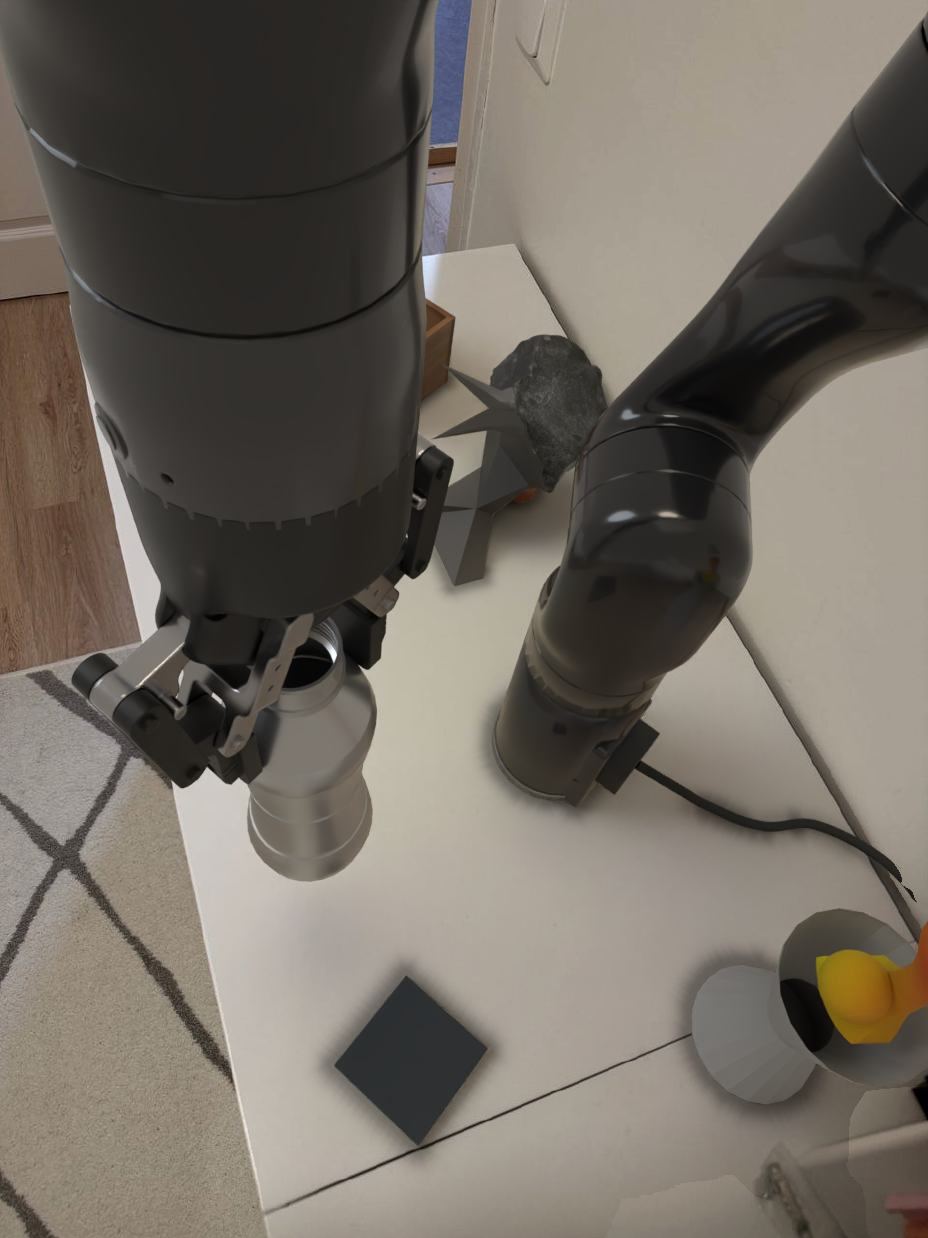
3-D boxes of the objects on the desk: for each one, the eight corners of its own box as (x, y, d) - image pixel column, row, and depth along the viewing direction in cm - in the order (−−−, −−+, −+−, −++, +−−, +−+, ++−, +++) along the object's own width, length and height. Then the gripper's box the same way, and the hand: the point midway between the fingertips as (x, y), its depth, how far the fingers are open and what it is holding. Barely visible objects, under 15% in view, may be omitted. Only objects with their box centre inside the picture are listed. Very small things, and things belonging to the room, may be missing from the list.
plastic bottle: (380, 781, 50) (395, 581, 34) (360, 902, 47) (366, 744, 30) (267, 765, 50) (225, 556, 33) (238, 885, 47) (175, 717, 30)
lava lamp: (800, 961, 64) (1193, 774, 34) (832, 1105, 59) (1321, 1031, 29) (678, 963, 63) (975, 771, 33) (701, 1109, 58) (1070, 1037, 28)
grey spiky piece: (608, 544, 82) (668, 401, 67) (453, 585, 78) (481, 441, 62) (544, 434, 88) (586, 280, 73) (399, 465, 84) (411, 309, 69)
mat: (486, 1049, 58) (488, 1048, 58) (417, 1146, 55) (418, 1146, 54) (405, 976, 60) (406, 975, 60) (334, 1066, 57) (334, 1065, 56)
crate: (447, 380, 91) (455, 316, 84) (385, 429, 86) (388, 365, 80) (370, 329, 94) (372, 263, 87) (305, 374, 89) (302, 308, 82)
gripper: (128, 680, 17) (229, 907, 31) (562, 327, 24) (483, 645, 38) (-109, 470, 19) (88, 773, 33) (353, 200, 26) (353, 547, 40)
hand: (299, 704), depth 35 cm, fingers closed on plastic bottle, 6 cm apart
